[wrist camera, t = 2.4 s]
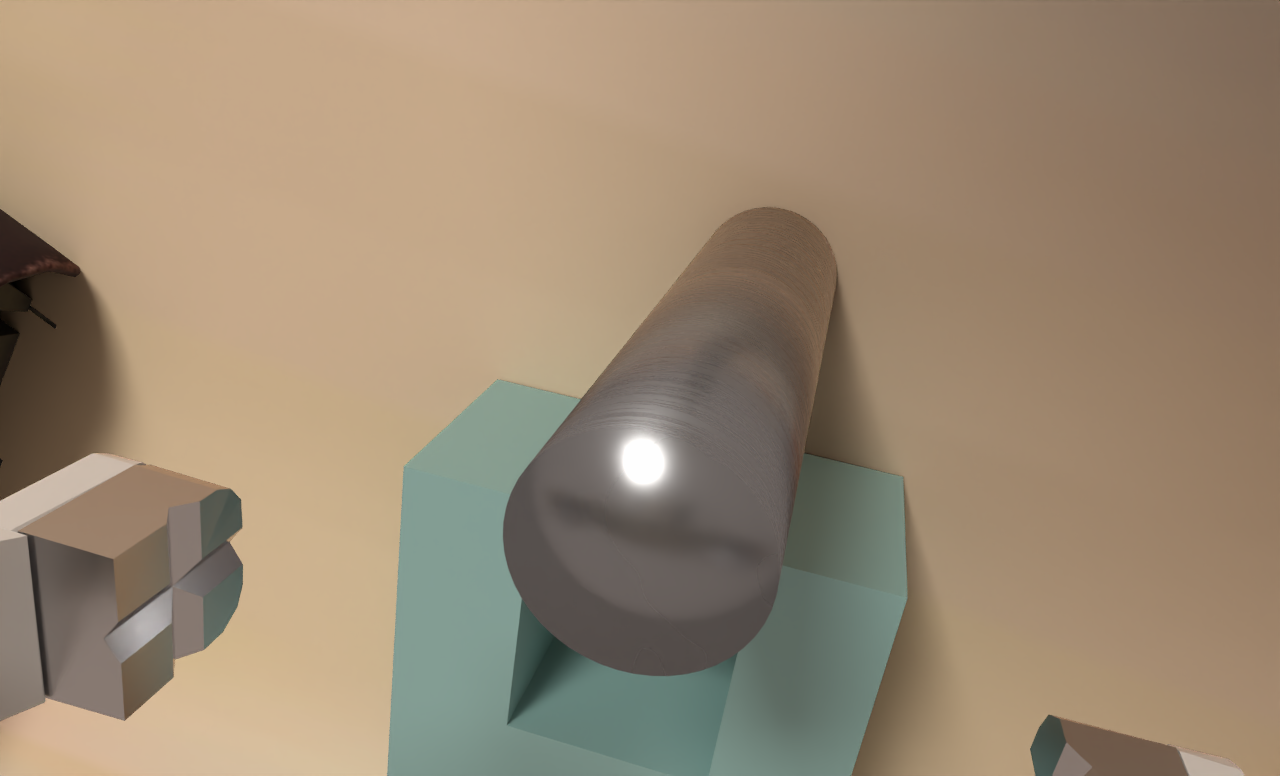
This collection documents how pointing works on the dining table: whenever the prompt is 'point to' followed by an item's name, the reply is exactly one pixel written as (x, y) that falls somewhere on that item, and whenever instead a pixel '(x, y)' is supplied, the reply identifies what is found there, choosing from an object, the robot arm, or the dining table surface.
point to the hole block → (605, 697)
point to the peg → (682, 461)
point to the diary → (23, 276)
